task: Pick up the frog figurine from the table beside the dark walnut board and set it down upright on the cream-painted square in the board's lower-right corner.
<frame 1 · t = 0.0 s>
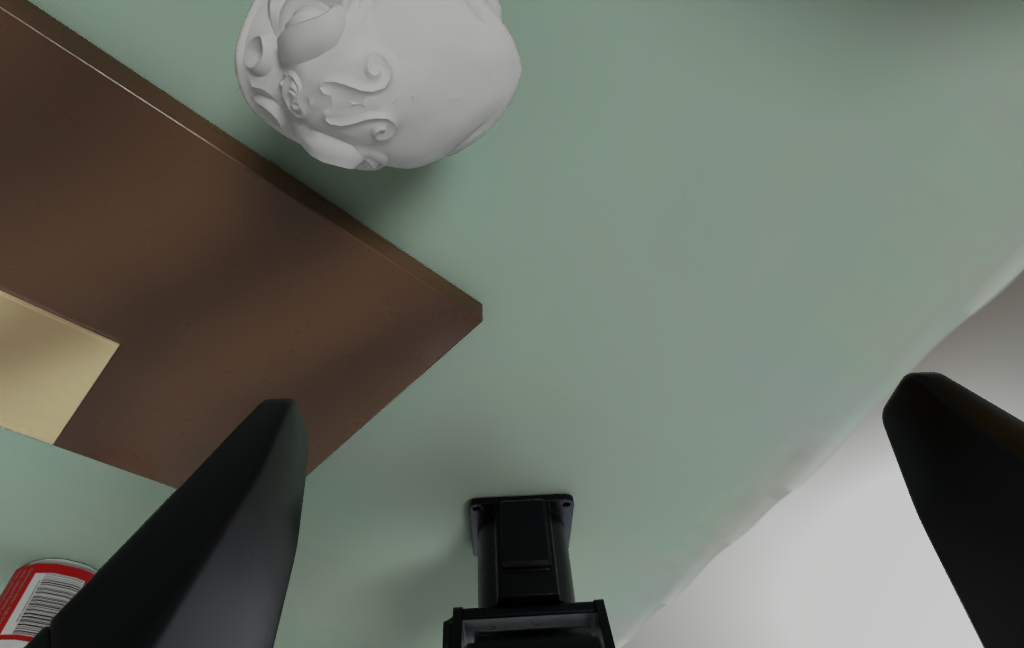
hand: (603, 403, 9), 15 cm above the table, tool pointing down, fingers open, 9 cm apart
board: (164, 323, 26), on the table
soda can: (67, 572, 40), on the table
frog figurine: (404, 22, 19), on the table
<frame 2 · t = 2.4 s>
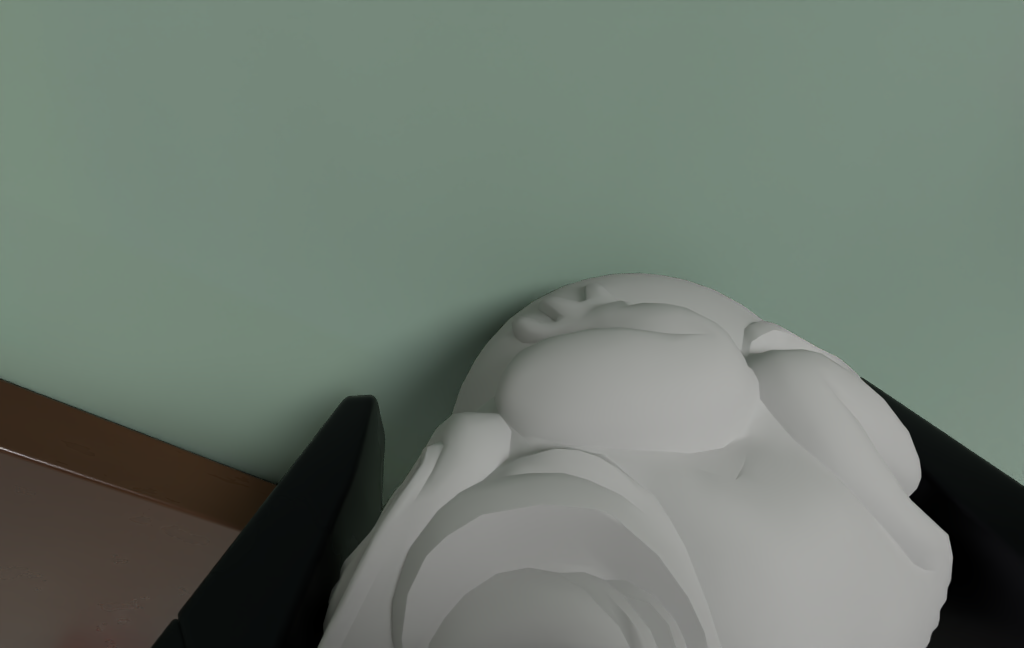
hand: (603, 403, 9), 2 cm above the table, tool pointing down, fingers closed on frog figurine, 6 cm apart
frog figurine: (581, 326, 10), on the table, touching gripper
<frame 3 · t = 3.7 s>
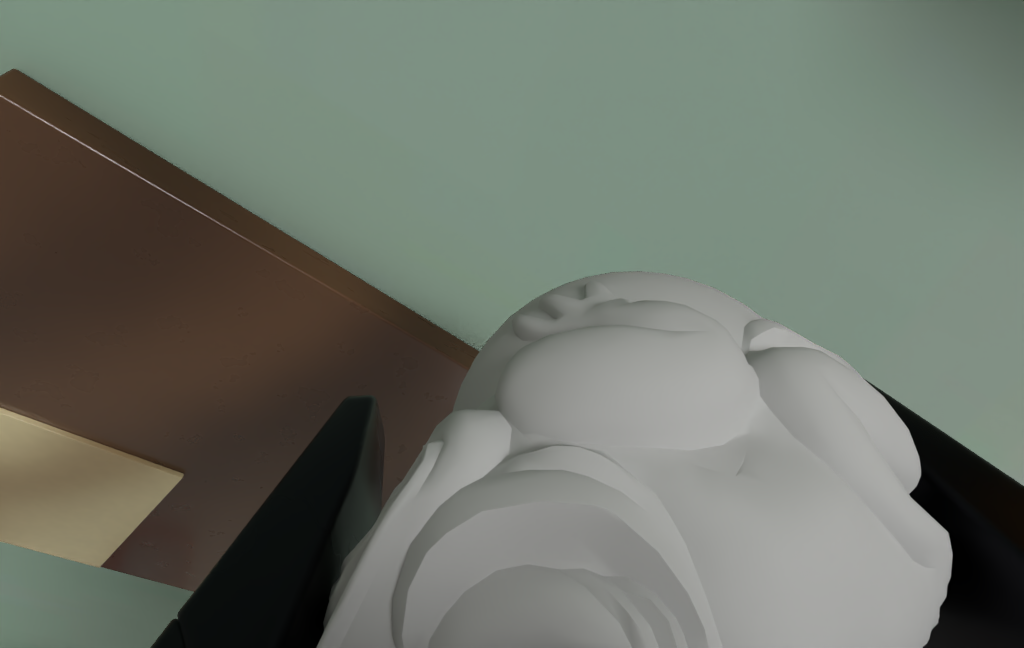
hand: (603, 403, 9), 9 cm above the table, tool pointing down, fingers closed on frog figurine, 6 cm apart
board: (232, 444, 23), on the table
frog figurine: (581, 324, 10), point 7 cm above the table, touching gripper
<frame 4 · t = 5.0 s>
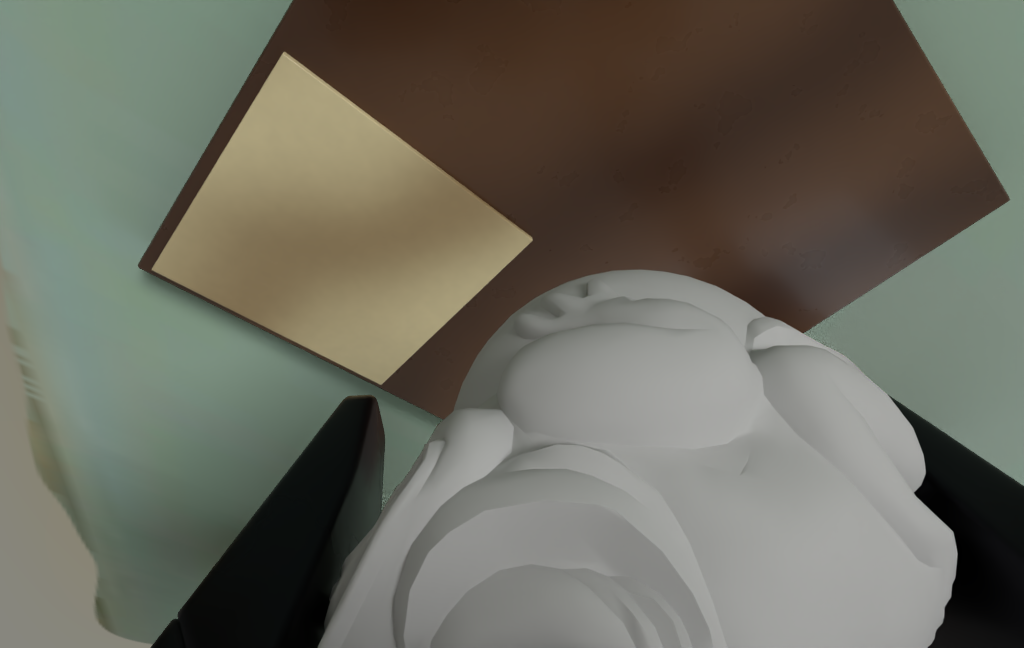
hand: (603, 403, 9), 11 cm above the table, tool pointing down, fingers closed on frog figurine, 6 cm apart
board: (571, 214, 20), on the table
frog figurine: (583, 323, 10), point 10 cm above the table, touching gripper
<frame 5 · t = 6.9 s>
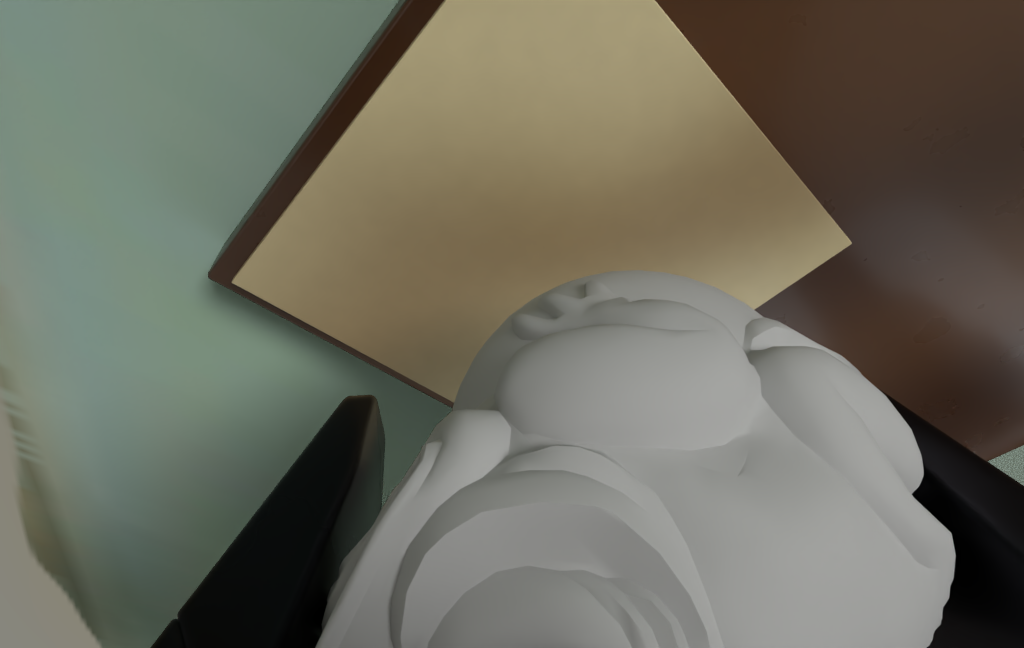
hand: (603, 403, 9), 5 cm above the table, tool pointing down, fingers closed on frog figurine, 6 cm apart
board: (885, 203, 13), on the table
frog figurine: (581, 324, 10), point 3 cm above the table, touching gripper
when the fingers open (3 cm above the table, at t = 8.1 s): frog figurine stays where it is, resting on board.
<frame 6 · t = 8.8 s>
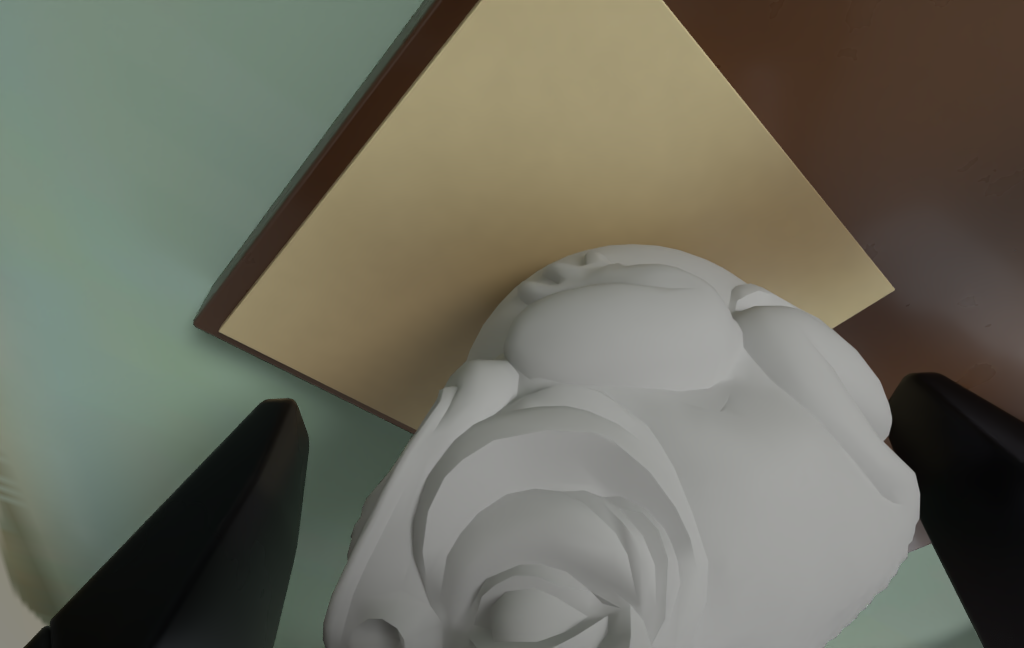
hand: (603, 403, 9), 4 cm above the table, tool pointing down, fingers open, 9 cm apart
board: (927, 242, 12), on the table
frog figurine: (582, 300, 11), point 1 cm above the table, touching board
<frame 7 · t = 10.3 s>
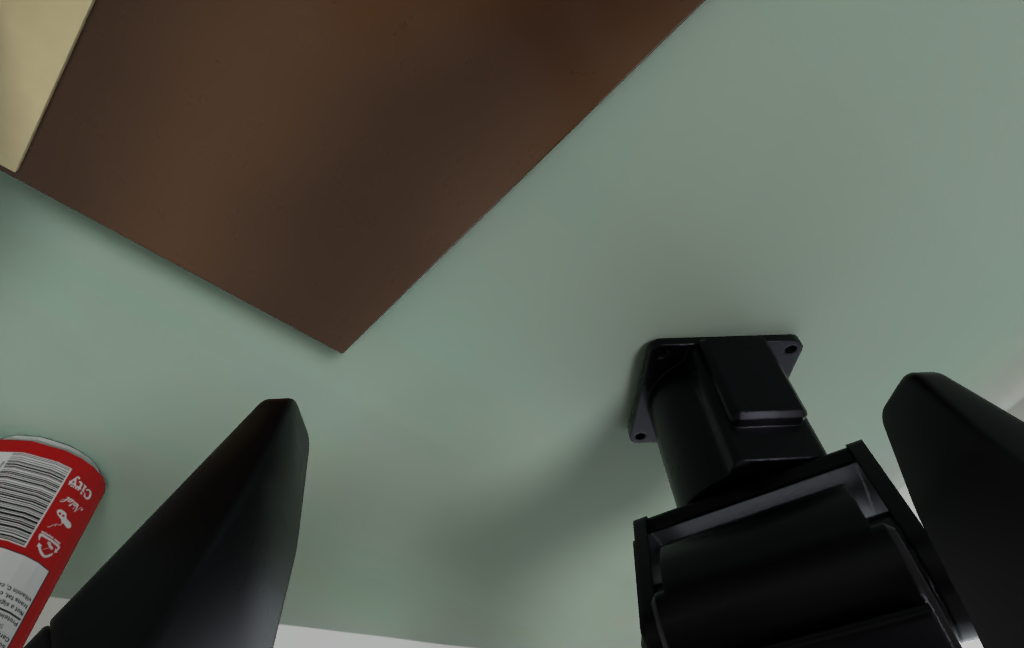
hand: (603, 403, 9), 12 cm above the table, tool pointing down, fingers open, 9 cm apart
soda can: (46, 463, 28), on the table
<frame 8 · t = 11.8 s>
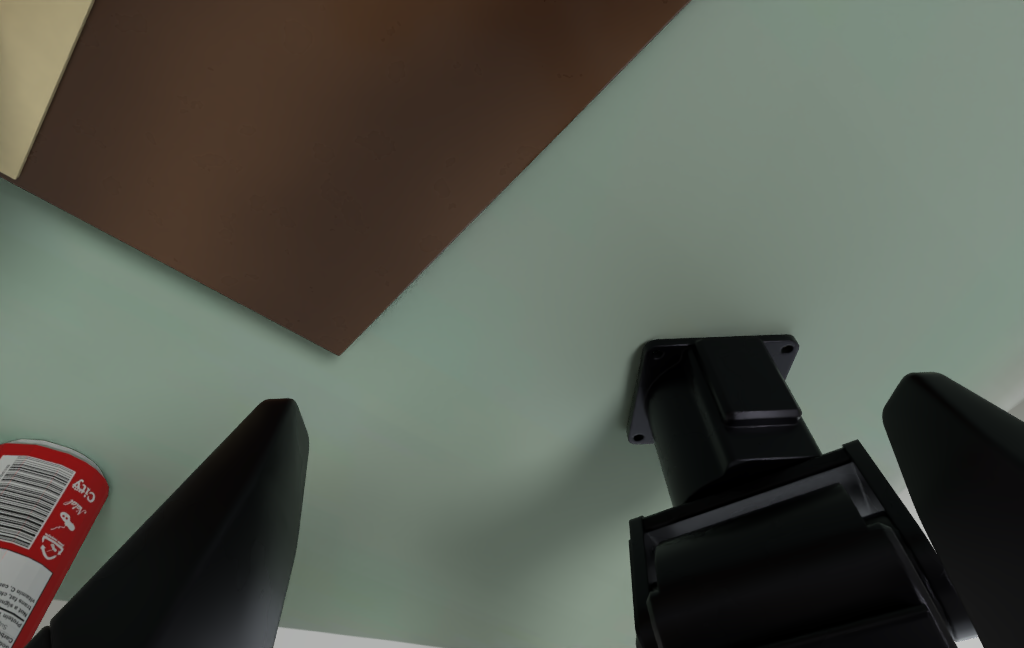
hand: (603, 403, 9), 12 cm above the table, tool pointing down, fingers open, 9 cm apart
soda can: (51, 466, 28), on the table
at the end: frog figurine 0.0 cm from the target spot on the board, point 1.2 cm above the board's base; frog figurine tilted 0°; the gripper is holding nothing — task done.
